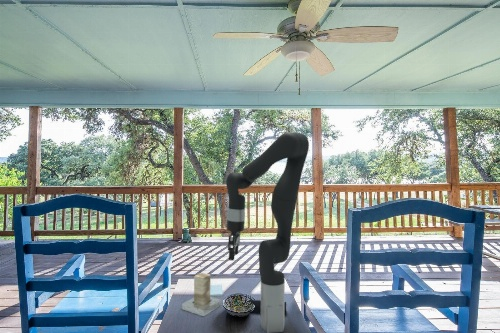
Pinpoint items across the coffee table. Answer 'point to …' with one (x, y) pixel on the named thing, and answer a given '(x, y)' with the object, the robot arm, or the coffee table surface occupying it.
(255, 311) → the pipe connector
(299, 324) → the coffee table surface
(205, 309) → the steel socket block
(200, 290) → the maple peg
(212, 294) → the pale blue plate
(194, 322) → the coffee table surface
